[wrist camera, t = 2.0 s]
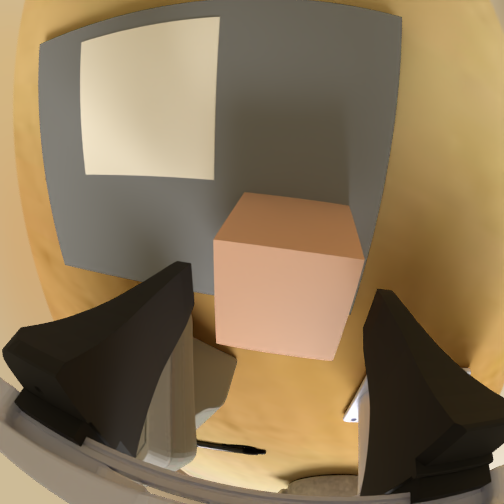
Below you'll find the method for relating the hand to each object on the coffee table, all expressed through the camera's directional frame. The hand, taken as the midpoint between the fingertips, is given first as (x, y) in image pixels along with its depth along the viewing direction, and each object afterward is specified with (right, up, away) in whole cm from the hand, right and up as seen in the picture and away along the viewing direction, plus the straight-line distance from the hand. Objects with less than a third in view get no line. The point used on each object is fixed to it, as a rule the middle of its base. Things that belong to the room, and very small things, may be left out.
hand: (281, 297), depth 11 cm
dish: (+11, -34, +24) cm, 43 cm away
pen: (-6, -21, +20) cm, 30 cm away
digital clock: (-8, -7, +12) cm, 16 cm away
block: (+1, +2, +4) cm, 4 cm away
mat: (-5, +7, +3) cm, 9 cm away
